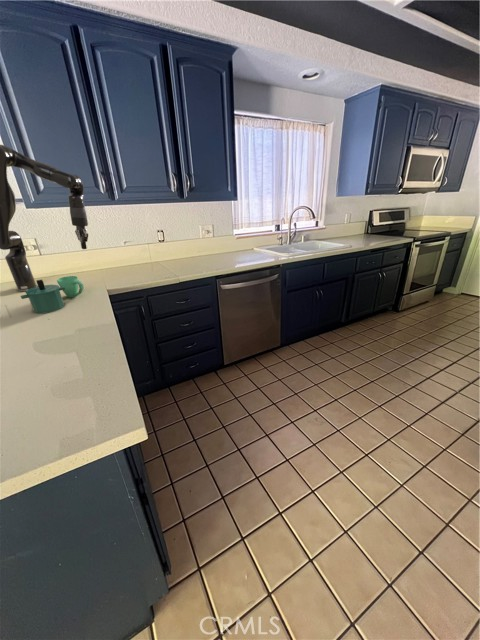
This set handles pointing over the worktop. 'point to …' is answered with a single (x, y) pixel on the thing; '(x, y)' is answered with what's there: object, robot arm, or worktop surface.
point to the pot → (46, 301)
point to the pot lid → (42, 289)
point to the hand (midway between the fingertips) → (84, 248)
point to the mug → (71, 285)
